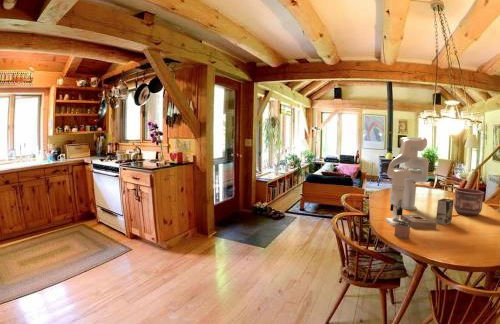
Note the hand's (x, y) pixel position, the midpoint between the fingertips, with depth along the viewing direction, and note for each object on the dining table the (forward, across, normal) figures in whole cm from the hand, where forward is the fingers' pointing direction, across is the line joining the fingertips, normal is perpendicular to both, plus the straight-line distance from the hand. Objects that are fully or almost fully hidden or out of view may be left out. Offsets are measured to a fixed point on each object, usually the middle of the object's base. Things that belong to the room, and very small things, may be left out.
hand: (396, 212), depth 184 cm
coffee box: (+7, -4, +34) cm, 35 cm away
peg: (+5, 0, 0) cm, 5 cm away
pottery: (+7, -27, +65) cm, 71 cm away
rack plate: (+7, 0, +15) cm, 16 cm away
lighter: (+8, +24, -7) cm, 26 cm away
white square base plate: (+7, 0, 0) cm, 7 cm away
